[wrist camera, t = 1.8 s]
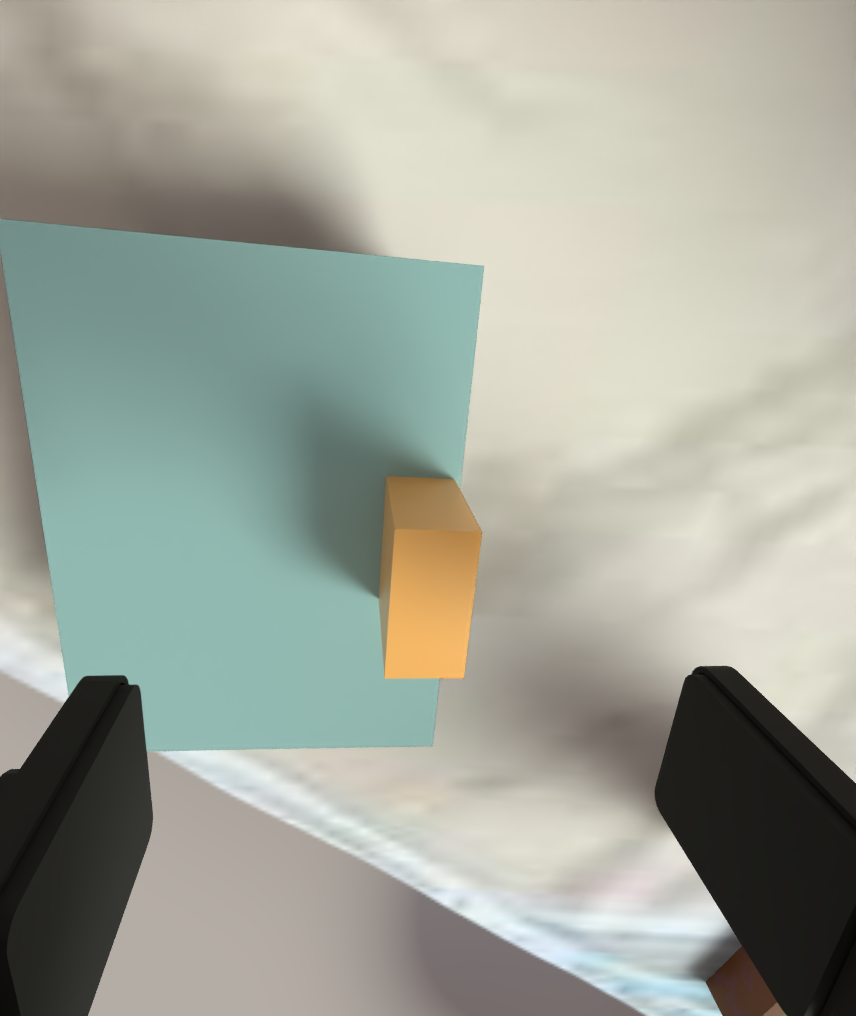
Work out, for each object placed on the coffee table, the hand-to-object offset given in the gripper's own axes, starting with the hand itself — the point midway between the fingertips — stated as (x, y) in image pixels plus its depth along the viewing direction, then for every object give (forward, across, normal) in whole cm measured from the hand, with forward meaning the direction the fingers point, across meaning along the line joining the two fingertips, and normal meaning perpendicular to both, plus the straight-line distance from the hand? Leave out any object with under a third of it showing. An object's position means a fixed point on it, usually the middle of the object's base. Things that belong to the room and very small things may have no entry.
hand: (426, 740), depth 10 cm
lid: (+9, +4, 0) cm, 10 cm away
